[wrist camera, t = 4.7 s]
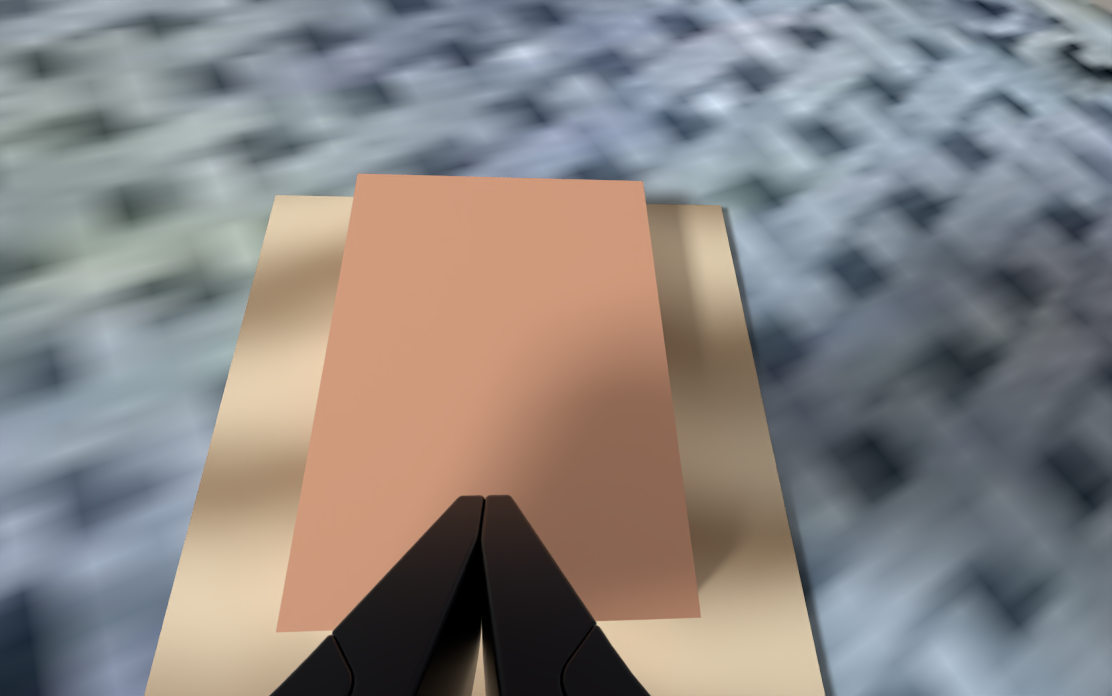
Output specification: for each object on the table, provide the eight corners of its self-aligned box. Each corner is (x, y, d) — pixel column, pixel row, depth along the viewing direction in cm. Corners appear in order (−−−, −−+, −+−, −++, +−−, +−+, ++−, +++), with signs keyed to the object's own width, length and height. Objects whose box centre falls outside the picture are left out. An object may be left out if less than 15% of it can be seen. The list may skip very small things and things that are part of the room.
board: (884, 1035, 12) (901, 1054, 12) (51, 1114, 11) (27, 1140, 10) (716, 215, 23) (720, 205, 22) (281, 205, 22) (275, 195, 21)
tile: (701, 617, 13) (642, 181, 19) (275, 632, 12) (357, 173, 18) (673, 617, 15) (629, 227, 21) (314, 628, 15) (375, 222, 21)
